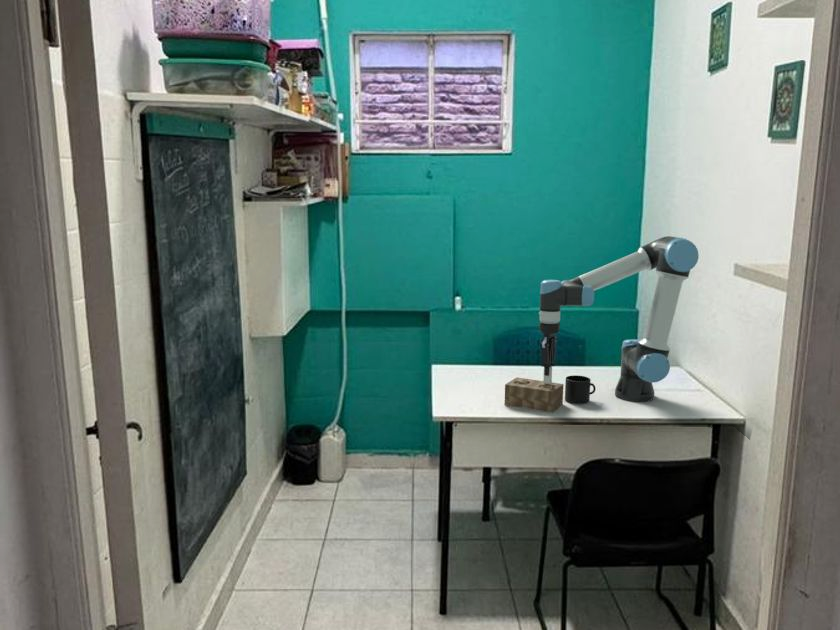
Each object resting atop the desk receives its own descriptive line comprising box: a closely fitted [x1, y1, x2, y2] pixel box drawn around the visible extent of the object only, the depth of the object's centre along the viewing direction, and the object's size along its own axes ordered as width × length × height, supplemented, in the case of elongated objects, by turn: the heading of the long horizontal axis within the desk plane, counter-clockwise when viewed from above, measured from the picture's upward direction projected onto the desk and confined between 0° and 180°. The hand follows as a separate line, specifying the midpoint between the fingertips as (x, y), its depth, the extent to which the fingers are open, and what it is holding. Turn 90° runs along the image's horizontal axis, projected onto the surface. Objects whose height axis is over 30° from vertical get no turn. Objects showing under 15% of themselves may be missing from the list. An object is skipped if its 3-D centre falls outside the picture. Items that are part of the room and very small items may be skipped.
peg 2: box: [542, 383, 552, 389], centre depth 263 cm, size 4×4×8 cm
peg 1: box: [517, 380, 527, 385], centre depth 268 cm, size 4×4×8 cm
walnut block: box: [504, 376, 564, 413], centre depth 265 cm, size 19×12×8 cm, turn 61°
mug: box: [564, 374, 596, 405], centre depth 271 cm, size 9×12×9 cm
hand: (547, 383), depth 262 cm, fingers closed
